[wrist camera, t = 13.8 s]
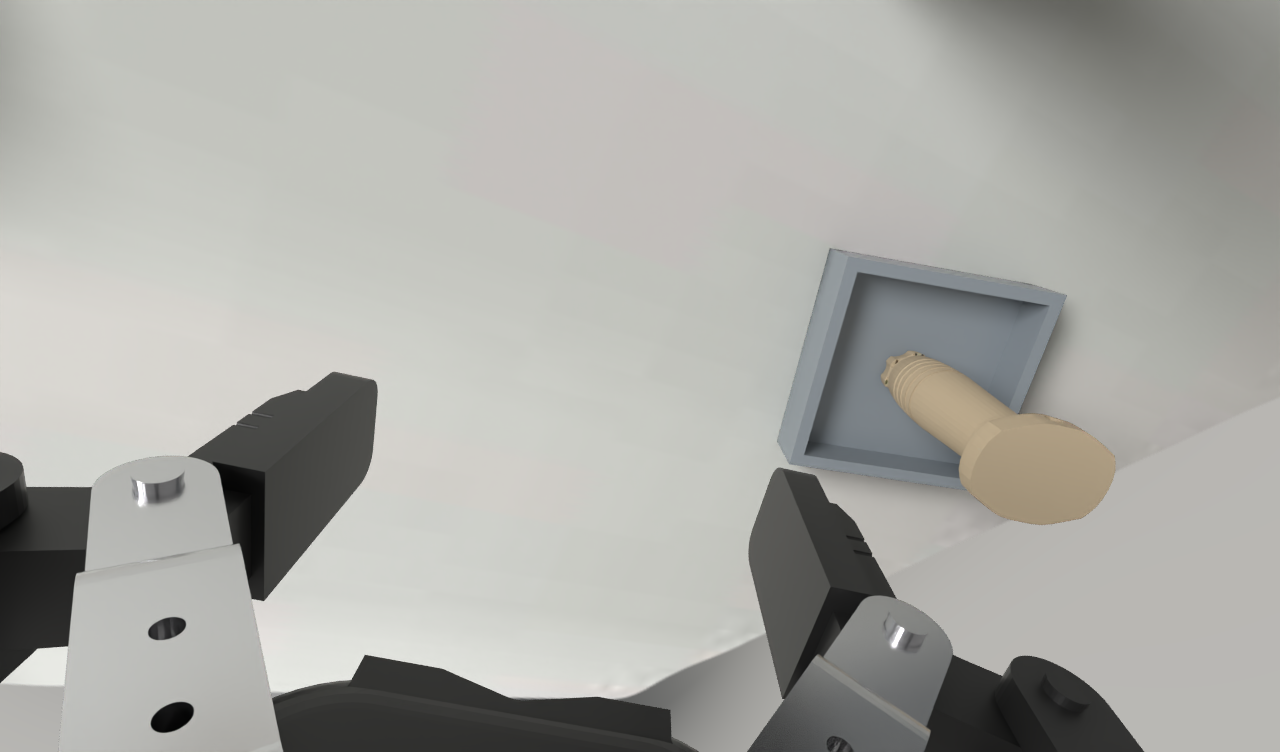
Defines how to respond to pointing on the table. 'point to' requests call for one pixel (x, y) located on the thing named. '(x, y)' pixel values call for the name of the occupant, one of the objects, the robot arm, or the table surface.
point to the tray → (890, 326)
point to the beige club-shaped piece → (1003, 444)
